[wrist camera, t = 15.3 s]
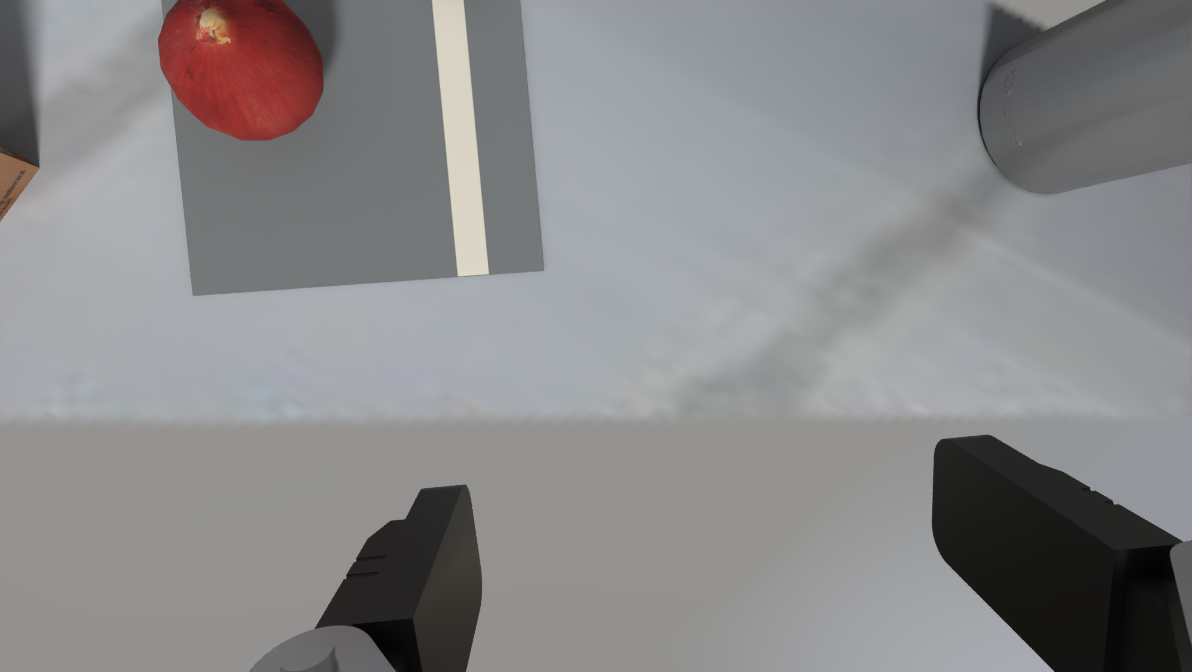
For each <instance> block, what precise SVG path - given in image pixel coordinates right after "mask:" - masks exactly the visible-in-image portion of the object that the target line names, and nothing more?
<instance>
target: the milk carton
mask: <svg viewBox="0 0 1192 672" xmlns="http://www.w3.org/2000/svg"><path fill="white" fill-rule="evenodd" d="M38 170H39V167H37V166H35V165H34V164H32V163H30V162H28V161H27V160H25V159H23V158H22V157H20V156H18V155H16V154H15V153H13V152H11V151H10V150H8V149H6V148H4V147H3V146H1V145H0V221H1V220H2V218H3V217H4V216H5V214H6V213H7V212H8V210H9V209H10V208H11V206H12V205H13V204H14V202H15V201H16V199H17V198H18V197H19V195H20V194H21V193H22V191H23V190H24V189H25V187H26V186H27V184H28V183H29V182H30V180H31V179H32V178H33V176H34V175H35V174H36V172H37V171H38Z"/></svg>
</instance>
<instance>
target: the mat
mask: <svg viewBox="0 0 1192 672" xmlns="http://www.w3.org/2000/svg"><path fill="white" fill-rule="evenodd" d="M177 1H178V0H162V9H163V19H164V20H165V17H166V14H167V13H168V11H169V10H170V9H171V8H172V7H173V6H174V4H175V3H176V2H177ZM282 1H284V2H285V3H286V4H287V5H288V7H289V8H290V9H291V10H292V11H293V12H294V13H295V14H296V15H297V16H298V17H299V18H300V19H301V21H302V22H303V23H304V24H305V25H306V26H307V28H308V29H309V30H310V32H311V34H312V36H313V38H314V40H315V42H316V44H317V47H318V49H319V51H320V53H321V55H322V63H323V80H324V89H323V94H322V96H321V98H320V100H319V102H318V104H317V107H316V109H315V111H314V113H313V115H312V116H311V117H310V118H309V119H307V120H306V121H305V122H304V123H303V124H302V125H300V126H299V127H298V128H297V129H296V130H295V131H293V132H291V133H288V134H285V135H283V136H280V137H277V138H275V139H272V140H269V141H241V140H239V139H236V138H234V137H231V136H229V135H227V134H224V133H222V132H219V131H217V130H214V129H211V128H209V127H206V126H205V125H204V124H203V123H202V122H201V121H200V120H198V119H197V118H196V117H195V116H194V115H193V114H192V113H191V112H190V111H189V110H188V109H186V108H185V107H184V106H183V104H182V103H181V102H180V101H179V100H178V99H177V97H176V95H175V93H174V92H173V90H172V88H171V94H172V104H173V113H174V122H175V132H176V141H177V151H178V160H179V170H180V179H181V188H182V198H183V207H184V217H185V226H186V236H187V245H188V255H189V264H190V273H191V283H192V292H193V295H194V296H197V295H212V294H226V293H240V292H254V291H268V290H282V289H296V288H310V287H324V286H338V285H352V284H366V283H380V282H394V281H408V280H422V279H436V278H450V277H464V276H478V275H492V274H506V273H520V272H534V271H544V265H543V254H542V243H541V231H540V220H539V209H538V198H537V187H536V176H535V165H534V154H533V142H532V131H531V120H530V109H529V98H528V87H527V76H526V65H525V53H524V42H523V31H522V20H521V9H520V0H282Z"/></svg>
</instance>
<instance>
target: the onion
mask: <svg viewBox="0 0 1192 672" xmlns="http://www.w3.org/2000/svg"><path fill="white" fill-rule="evenodd" d="M158 45H159V55H160V65H161V69H162V71H163V74H164V76H165V77H166V79H167V81H168V83H169V84H170V86H171V88H172V90H173V92H174V93H175V95H176V97H177V99H178V100H179V101H180V102H181V103H182V104H183V106H184V107H185V108H186V109H188V110H189V111H190V112H191V113H192V114H193V115H194V116H195V117H196V118H197V119H198V120H200V121H201V122H202V123H203V124H204V125H205V126H206V127H209V128H211V129H214V130H217V131H219V132H222V133H224V134H227V135H229V136H231V137H234V138H236V139H239V140H241V141H269V140H272V139H275V138H277V137H280V136H283V135H285V134H288V133H291V132H293V131H295V130H296V129H297V128H298V127H299V126H300V125H302V124H303V123H304V122H305V121H306V120H307V119H309V118H310V117H311V116H312V115H313V113H314V111H315V109H316V107H317V104H318V102H319V100H320V98H321V96H322V94H323V89H324V80H323V63H322V55H321V53H320V51H319V49H318V47H317V44H316V42H315V40H314V38H313V36H312V34H311V32H310V30H309V29H308V28H307V26H306V25H305V24H304V23H303V22H302V21H301V19H300V18H299V17H298V16H297V15H296V14H295V13H294V12H293V11H292V10H291V9H290V8H289V7H288V5H287V4H286V3H285V2H284V1H282V0H178V1H177V2H176V3H175V4H174V6H173V7H172V8H171V9H170V10H169V11H168V13H167V14H166V17H165V20H164V23H163V26H162V30H161V33H160V35H159V38H158Z"/></svg>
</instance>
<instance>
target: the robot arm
mask: <svg viewBox="0 0 1192 672" xmlns="http://www.w3.org/2000/svg"><path fill="white" fill-rule="evenodd" d="M980 123H981V129H982V136H983V138H984V141H985V144H986V147H987V150H988V152H989V154H990V156H991V157H992V159H993V161H994V163H995V164H996V166H997V167H998V168H999V169H1000V170H1001V172H1002V173H1003V174H1004V175H1005V176H1006V177H1007V178H1008V179H1009V180H1011V181H1012V182H1013V183H1015V184H1016V185H1017V186H1019V187H1021V188H1024V189H1026V190H1028V191H1030V192H1035V193H1040V194H1056V193H1061V192H1066V191H1070V190H1075V189H1079V188H1083V187H1088V186H1092V185H1097V184H1101V183H1106V182H1110V181H1114V180H1119V179H1124V178H1129V177H1133V176H1137V175H1142V174H1146V173H1151V172H1155V171H1159V170H1164V169H1168V168H1173V167H1177V166H1181V165H1186V164H1190V163H1192V0H1106V1H1104V2H1102V3H1100V4H1098V5H1096V6H1094V7H1092V8H1090V9H1088V10H1086V11H1084V12H1082V13H1080V14H1078V15H1076V16H1074V17H1072V18H1070V19H1068V20H1066V21H1064V22H1062V23H1060V24H1058V25H1056V26H1054V27H1052V28H1050V29H1048V30H1046V31H1045V32H1043V33H1041V34H1039V35H1037V36H1035V37H1033V38H1031V39H1029V40H1027V41H1025V42H1023V43H1021V44H1019V45H1017V46H1016V47H1014V48H1012V49H1010V50H1008V51H1007V52H1006V53H1005V54H1004V55H1003V56H1002V57H1001V58H1000V59H999V60H998V61H997V62H996V64H995V65H994V67H993V68H992V69H991V71H990V72H989V75H988V77H987V80H986V82H985V84H984V87H983V92H982V96H981V101H980ZM932 529H933V536H934V540H935V543H936V546H937V548H938V551H939V552H940V554H941V556H942V558H943V559H944V560H945V562H946V563H947V564H948V565H949V566H950V567H951V568H952V569H953V570H954V571H955V572H956V573H957V574H958V575H959V576H960V577H961V578H962V579H963V580H964V581H965V582H966V583H967V584H968V585H969V586H970V587H971V588H972V589H973V590H974V591H975V592H976V593H977V594H978V595H979V596H980V597H981V598H982V599H983V600H984V601H985V602H986V603H987V604H988V605H989V606H990V607H991V608H992V609H993V610H994V611H995V612H996V613H997V614H998V615H999V616H1000V617H1001V618H1002V619H1003V620H1004V621H1005V622H1006V623H1007V624H1008V625H1009V626H1010V627H1011V628H1012V629H1013V630H1014V631H1015V632H1016V633H1017V634H1018V635H1019V636H1020V637H1021V638H1022V639H1023V640H1024V641H1025V642H1026V643H1027V644H1028V645H1029V646H1030V647H1031V648H1032V649H1033V650H1034V651H1035V652H1036V653H1037V654H1038V655H1039V656H1040V657H1041V658H1042V659H1043V660H1044V662H1046V664H1047V665H1049V667H1050V668H1051V669H1052V670H1054V672H1192V540H1191V541H1186V542H1183V541H1181V540H1180V539H1178V538H1176V537H1174V536H1173V535H1171V534H1169V533H1168V532H1166V531H1164V530H1162V529H1161V528H1159V527H1157V526H1155V525H1154V524H1152V523H1150V522H1149V521H1147V520H1145V519H1143V518H1141V517H1140V516H1138V515H1136V514H1135V513H1133V512H1131V511H1130V510H1128V509H1126V508H1124V507H1123V506H1121V505H1119V504H1117V505H1114V504H1113V501H1112V500H1111V499H1109V498H1107V497H1105V496H1104V495H1102V494H1100V493H1099V492H1097V491H1091V490H1090V487H1088V486H1086V485H1085V484H1083V483H1081V482H1080V481H1078V480H1076V479H1074V478H1073V477H1071V476H1069V475H1067V474H1066V473H1064V472H1062V471H1059V470H1056V469H1053V468H1050V467H1047V466H1044V465H1042V464H1039V463H1037V462H1035V461H1034V460H1032V459H1030V458H1029V457H1027V456H1025V455H1023V454H1022V453H1020V452H1018V451H1017V450H1015V449H1013V448H1012V447H1010V446H1008V445H1006V444H1005V443H1003V442H1002V441H1000V440H998V439H996V438H995V437H993V436H991V435H979V436H969V437H958V438H948V439H942V440H940V441H939V442H938V444H937V445H936V448H935V452H934V469H933V503H932ZM481 599H482V575H481V566H480V559H479V551H478V544H477V538H476V531H475V524H474V517H473V510H472V503H471V497H470V493H469V490H468V487H467V486H466V485H455V486H446V487H445V486H444V487H434V488H424V489H421V490H420V492H419V494H418V496H417V498H416V499H415V501H414V504H413V505H412V507H411V509H410V511H409V513H408V515H407V517H406V519H404V520H394V521H390V522H388V523H387V524H386V525H384V526H383V527H382V528H381V529H380V530H378V531H377V532H376V533H375V534H373V535H372V536H371V537H370V538H368V539H367V541H366V543H365V544H364V546H363V548H362V549H361V551H360V553H359V555H358V556H357V558H356V562H354V563H353V565H352V567H351V568H350V570H349V571H348V574H347V578H346V579H344V580H343V582H342V583H341V585H340V587H339V588H338V590H337V592H336V593H335V595H334V597H333V599H332V601H331V602H330V604H329V605H328V607H327V609H326V610H325V612H324V614H323V615H322V617H321V619H320V621H319V622H318V624H317V626H316V627H315V629H314V630H310V631H307V632H304V633H302V634H299V635H297V636H295V637H293V638H290V639H289V640H287V641H285V642H283V643H281V644H280V645H278V646H276V647H275V648H273V649H272V650H271V651H269V652H268V653H267V654H265V655H264V656H263V657H262V658H261V659H260V660H259V661H258V662H257V663H256V664H255V665H254V666H253V668H252V669H251V670H250V672H466V669H467V665H468V660H469V656H470V651H471V647H472V642H473V638H474V634H475V629H476V625H477V620H478V616H479V611H480V607H481Z"/></svg>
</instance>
